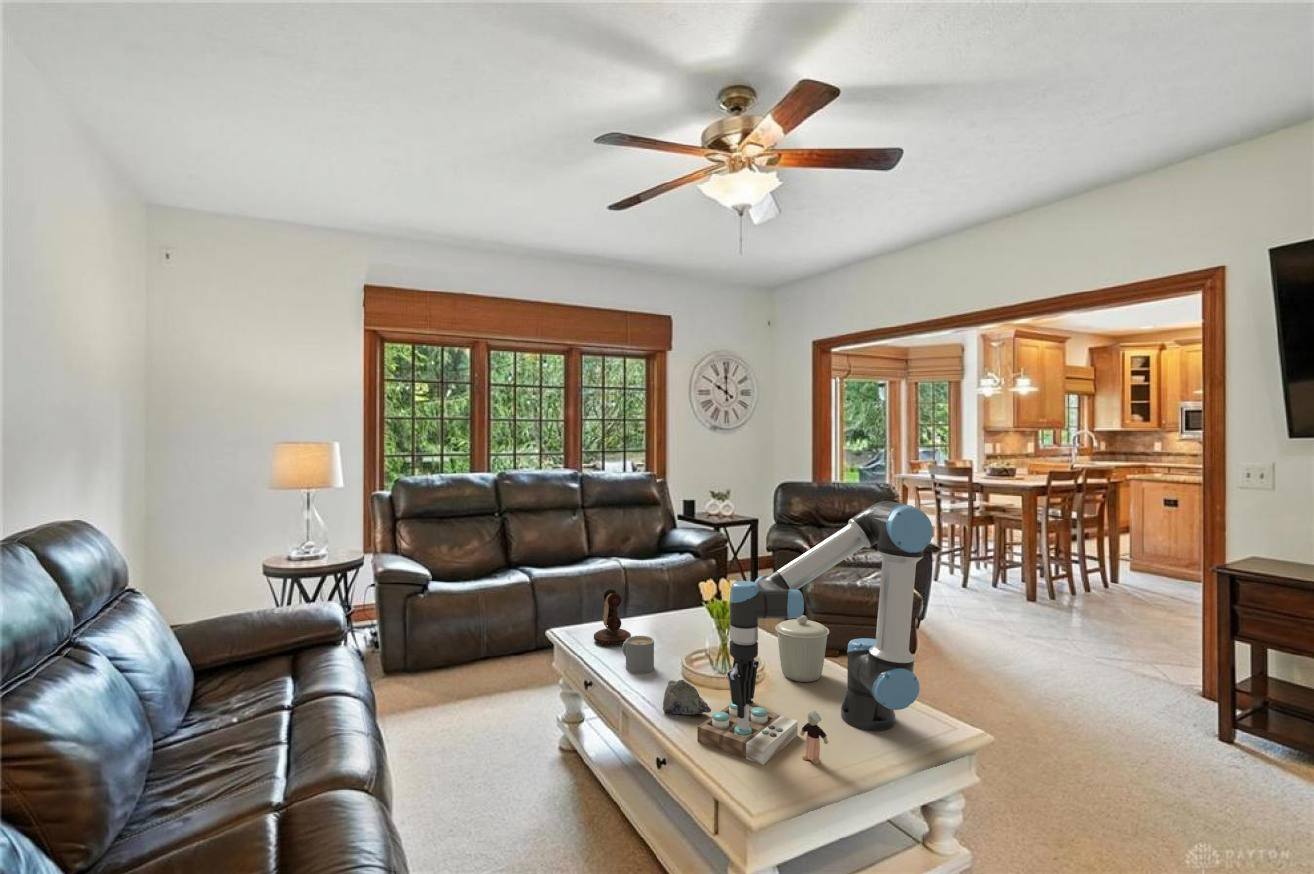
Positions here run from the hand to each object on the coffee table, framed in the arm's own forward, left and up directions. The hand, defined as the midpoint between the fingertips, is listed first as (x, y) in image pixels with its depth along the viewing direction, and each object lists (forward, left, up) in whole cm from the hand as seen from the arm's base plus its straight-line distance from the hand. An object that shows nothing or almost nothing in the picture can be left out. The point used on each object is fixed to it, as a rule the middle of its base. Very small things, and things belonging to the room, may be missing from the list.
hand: (743, 728), depth 170 cm
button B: (0, 0, -4) cm, 4 cm away
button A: (0, -9, -3) cm, 9 cm away
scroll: (+83, -42, -5) cm, 93 cm away
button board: (+1, -5, -5) cm, 7 cm away
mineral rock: (+23, -6, -5) cm, 24 cm away
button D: (+7, 0, -3) cm, 7 cm away
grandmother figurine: (-18, -5, -5) cm, 19 cm away
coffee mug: (+58, -27, -5) cm, 64 cm away
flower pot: (+14, -24, -5) cm, 28 cm away
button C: (+7, -9, -3) cm, 12 cm away
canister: (+8, -55, -5) cm, 55 cm away
